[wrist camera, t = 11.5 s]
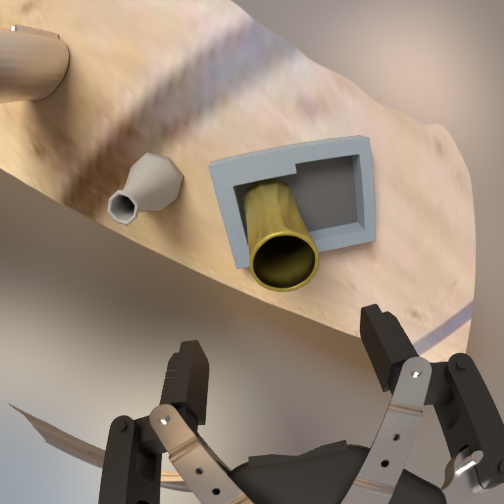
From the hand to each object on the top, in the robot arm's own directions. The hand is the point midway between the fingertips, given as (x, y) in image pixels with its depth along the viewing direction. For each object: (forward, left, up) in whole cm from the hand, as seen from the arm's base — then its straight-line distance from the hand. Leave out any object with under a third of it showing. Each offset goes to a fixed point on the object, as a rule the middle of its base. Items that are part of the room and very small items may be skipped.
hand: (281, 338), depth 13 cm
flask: (-5, -12, -23) cm, 26 cm away
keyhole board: (+1, +5, -23) cm, 23 cm away
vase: (+1, +1, -23) cm, 23 cm away
